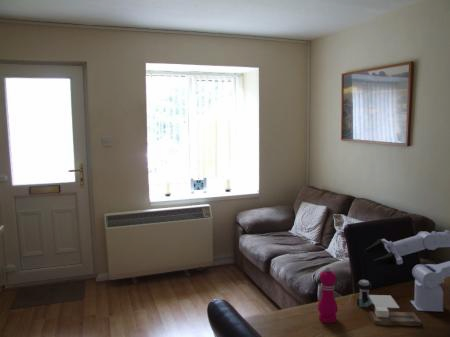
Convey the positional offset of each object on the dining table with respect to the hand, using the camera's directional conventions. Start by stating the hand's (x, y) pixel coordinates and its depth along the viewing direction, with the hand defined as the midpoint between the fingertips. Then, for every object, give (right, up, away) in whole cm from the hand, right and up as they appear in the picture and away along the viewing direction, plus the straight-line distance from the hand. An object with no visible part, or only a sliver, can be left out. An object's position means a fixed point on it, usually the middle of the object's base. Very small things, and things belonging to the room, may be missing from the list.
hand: (370, 257), depth 147 cm
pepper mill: (-18, -22, -6) cm, 29 cm away
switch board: (+6, -21, -8) cm, 23 cm away
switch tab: (+1, -20, -8) cm, 21 cm away
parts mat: (+8, -20, +7) cm, 22 cm away
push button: (0, -20, +4) cm, 21 cm away
